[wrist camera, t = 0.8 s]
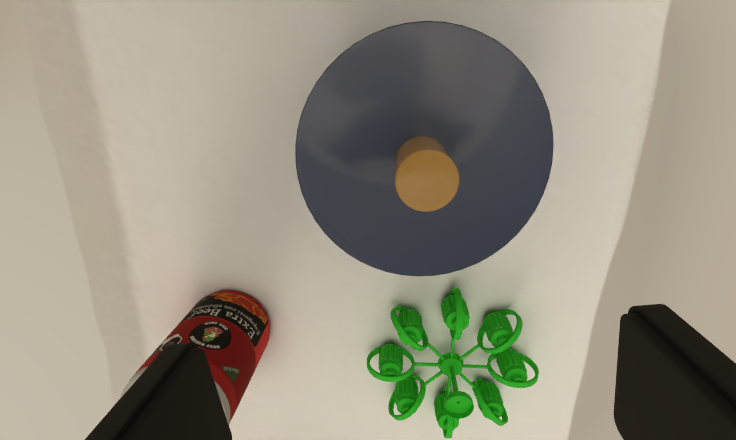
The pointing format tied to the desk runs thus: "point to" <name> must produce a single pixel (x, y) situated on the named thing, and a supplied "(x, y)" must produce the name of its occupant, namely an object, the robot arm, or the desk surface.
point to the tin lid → (424, 148)
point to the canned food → (223, 342)
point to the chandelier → (453, 364)
